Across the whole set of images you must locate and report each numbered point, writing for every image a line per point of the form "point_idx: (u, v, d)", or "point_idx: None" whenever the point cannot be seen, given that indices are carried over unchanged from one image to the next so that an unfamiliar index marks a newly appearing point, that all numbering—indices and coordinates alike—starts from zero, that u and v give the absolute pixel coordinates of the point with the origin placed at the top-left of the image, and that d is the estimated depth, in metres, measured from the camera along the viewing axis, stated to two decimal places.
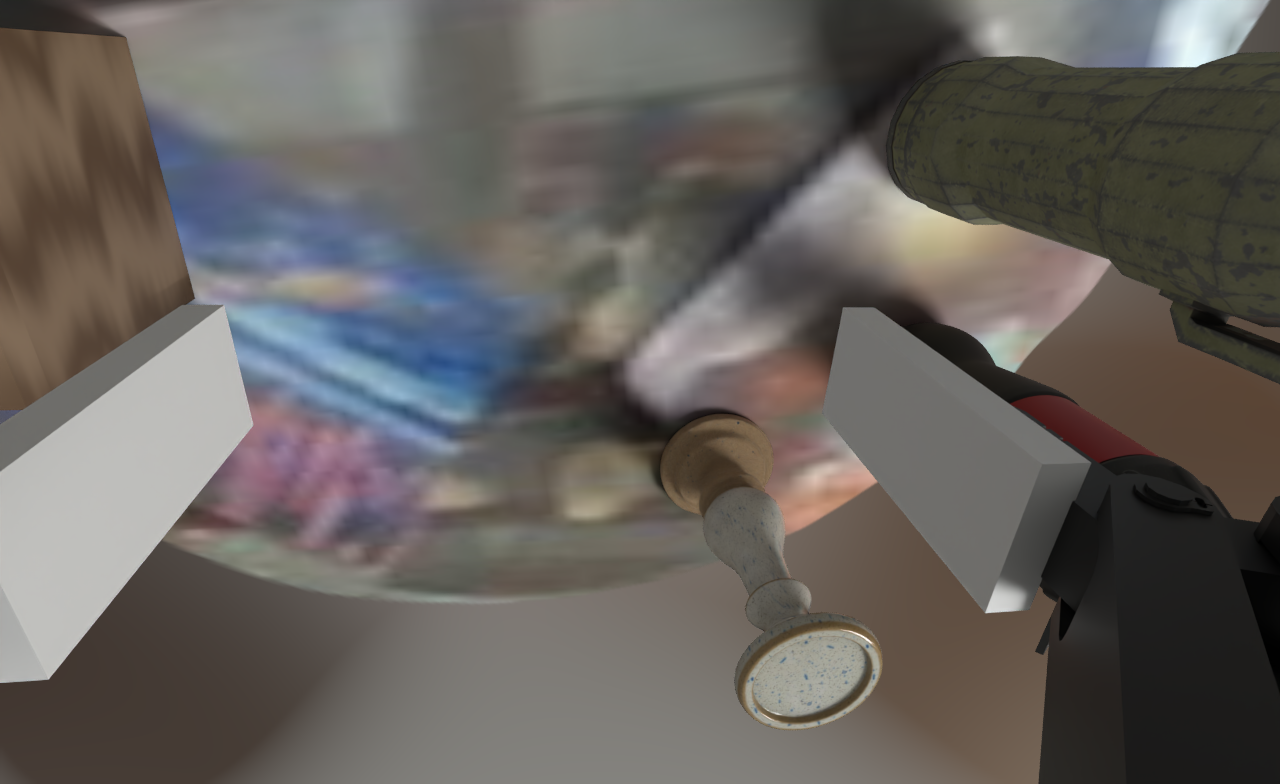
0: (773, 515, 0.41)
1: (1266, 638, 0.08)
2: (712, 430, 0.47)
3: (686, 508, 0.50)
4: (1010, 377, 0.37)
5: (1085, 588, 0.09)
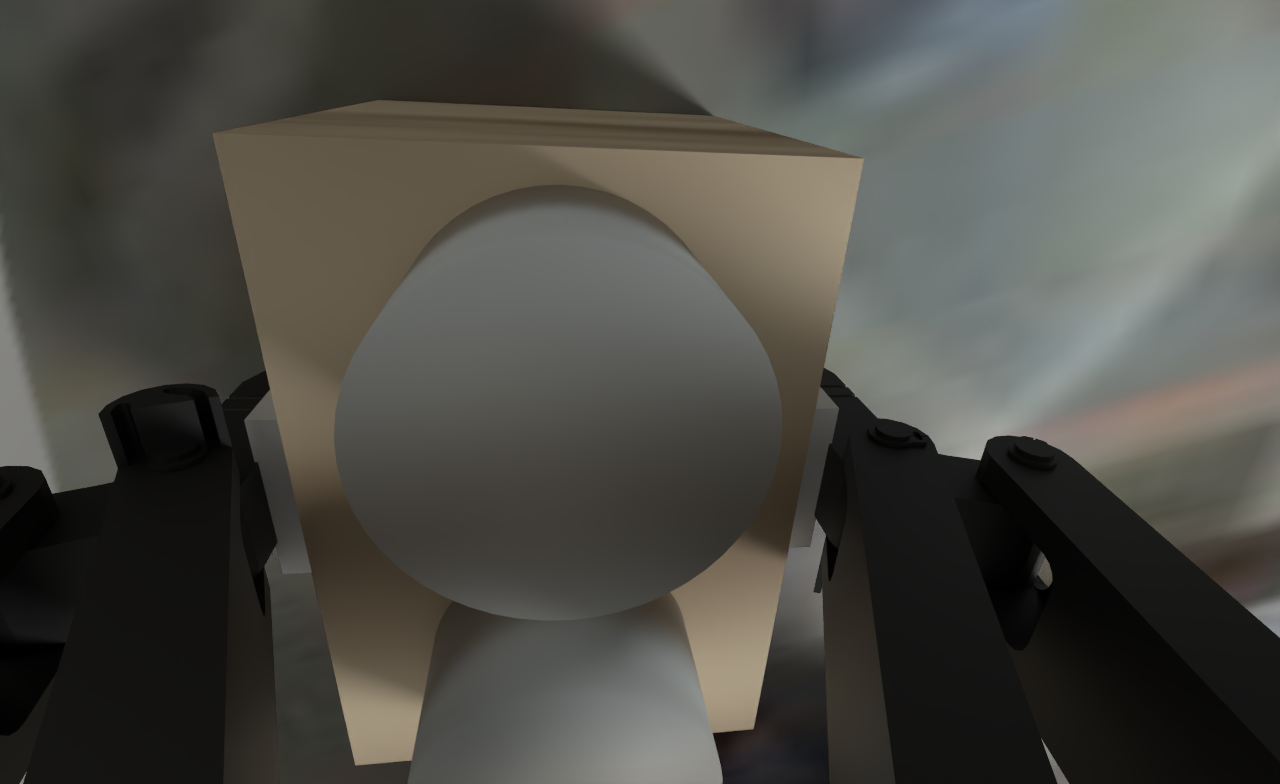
0: None
1: (978, 559, 0.09)
2: None
3: None
4: None
5: (843, 528, 0.10)
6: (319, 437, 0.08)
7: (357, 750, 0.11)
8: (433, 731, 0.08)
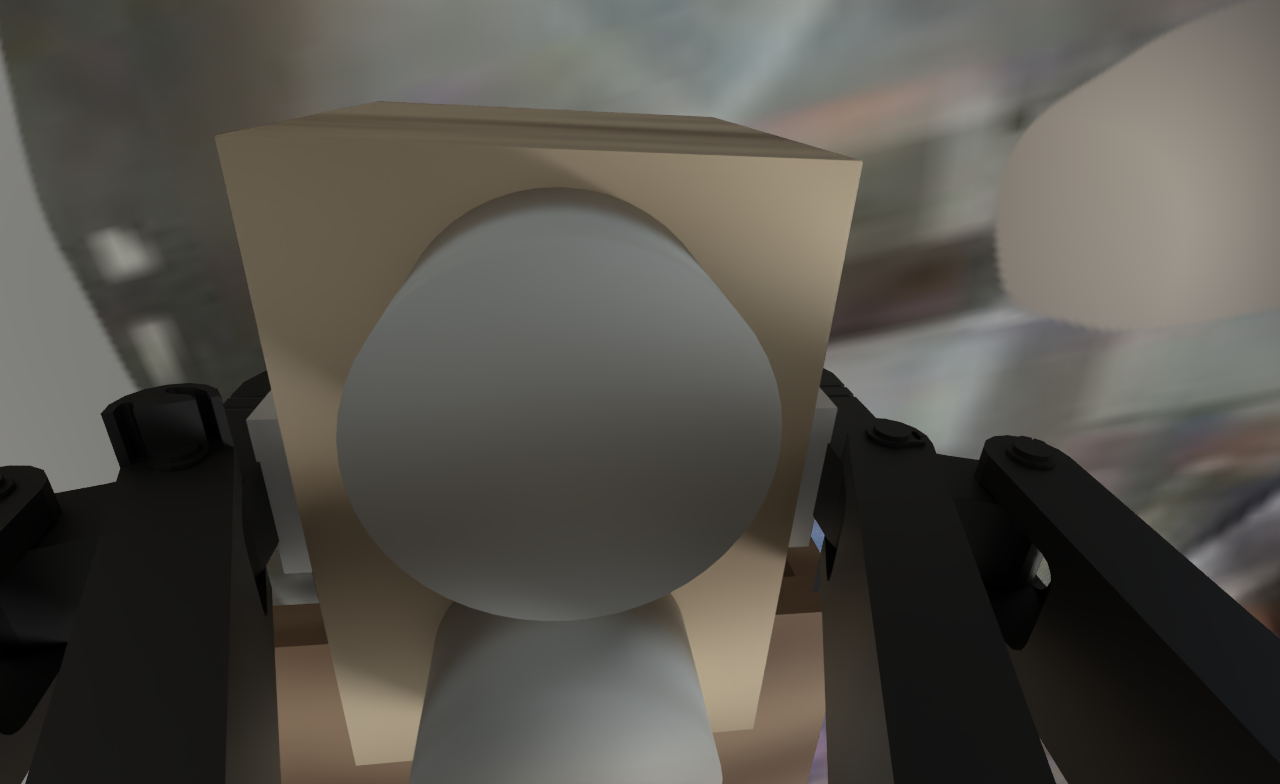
0: None
1: (976, 559, 0.09)
2: None
3: None
4: None
5: (841, 528, 0.10)
6: (320, 438, 0.08)
7: (358, 750, 0.11)
8: (434, 730, 0.08)
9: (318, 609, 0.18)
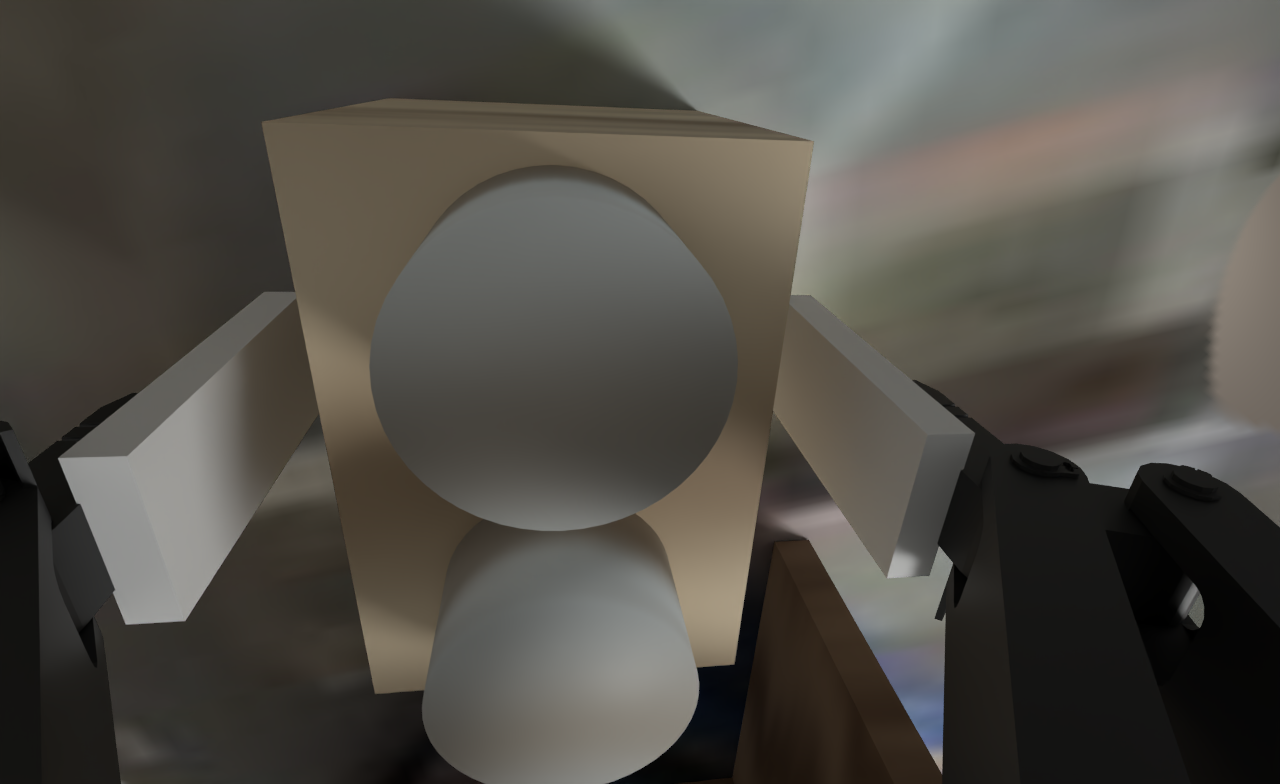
0: None
1: (1130, 595, 0.09)
2: None
3: None
4: None
5: (974, 555, 0.09)
6: (347, 387, 0.09)
7: (377, 679, 0.12)
8: (448, 636, 0.09)
9: None
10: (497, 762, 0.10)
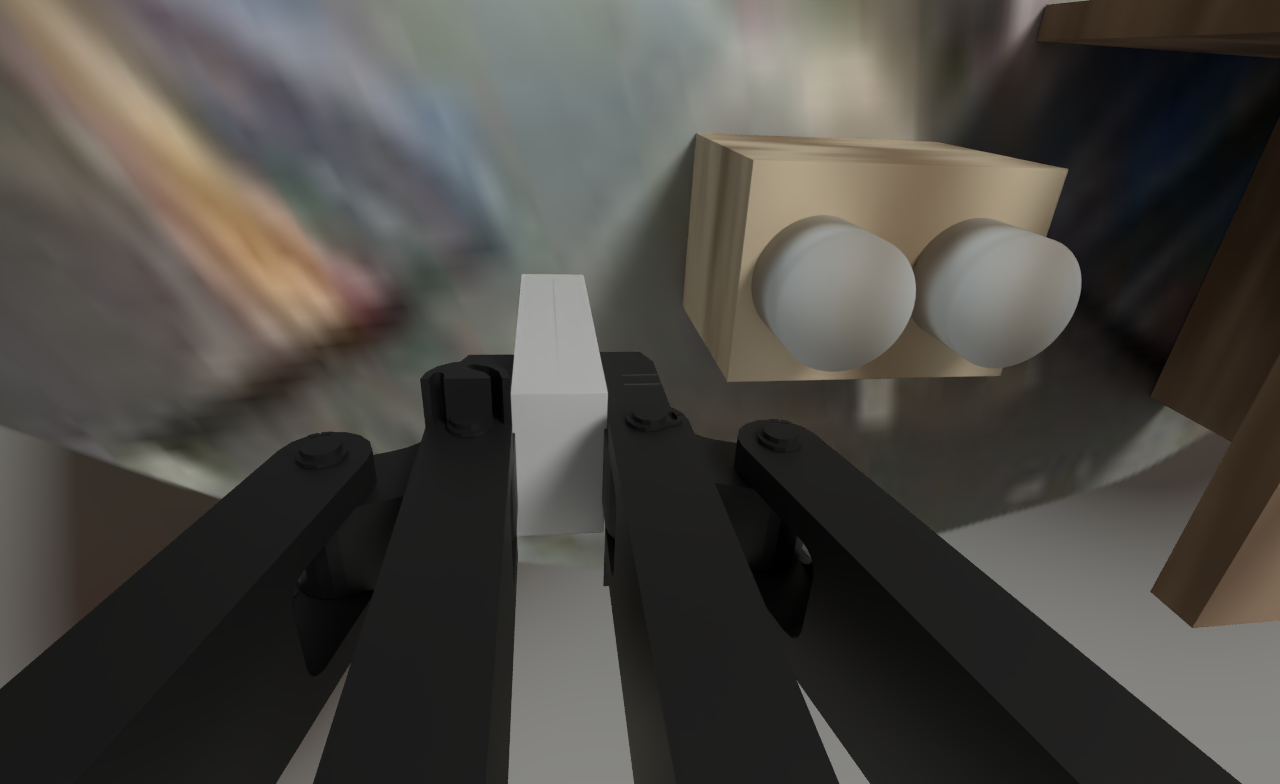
0: None
1: None
2: None
3: None
4: None
5: None
6: None
7: (991, 373, 0.23)
8: (956, 352, 0.20)
9: (1182, 550, 0.20)
10: (1038, 338, 0.19)
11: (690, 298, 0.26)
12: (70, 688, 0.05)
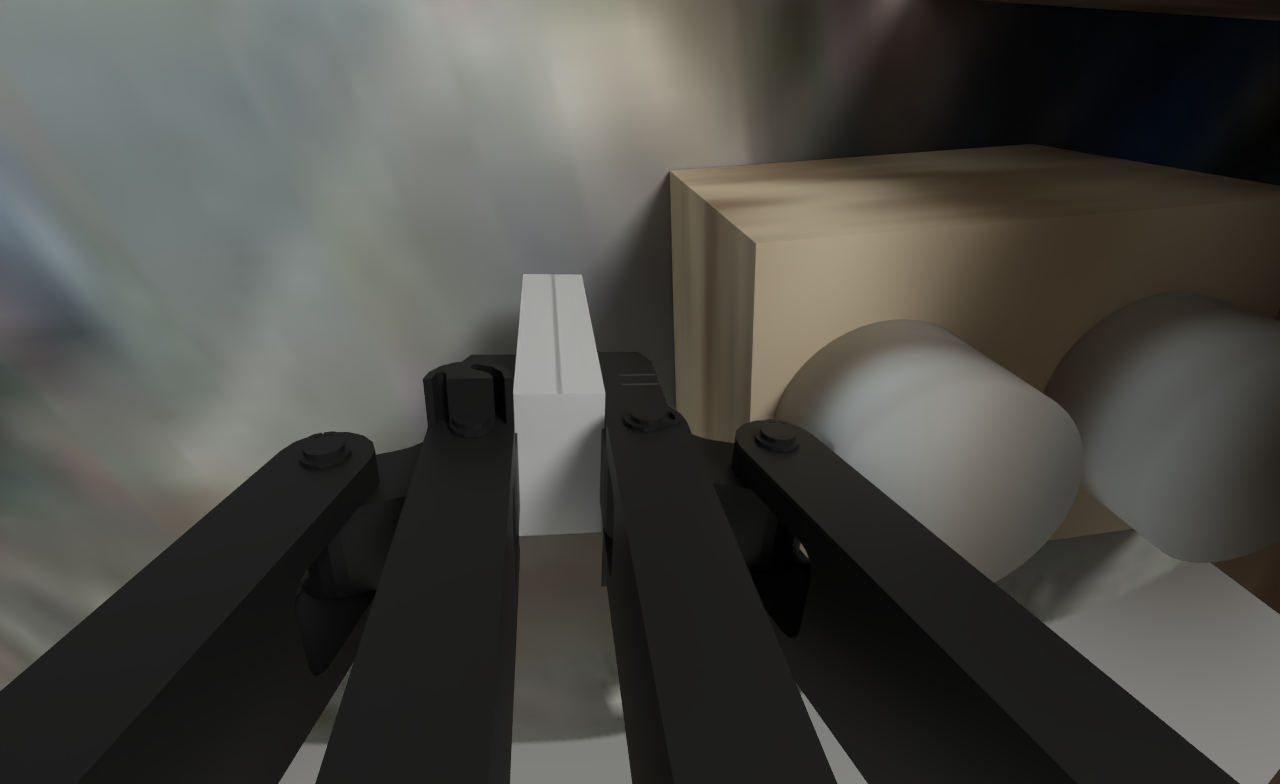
0: None
1: None
2: None
3: None
4: None
5: None
6: None
7: None
8: None
9: None
10: None
11: (684, 407, 0.18)
12: (73, 688, 0.05)
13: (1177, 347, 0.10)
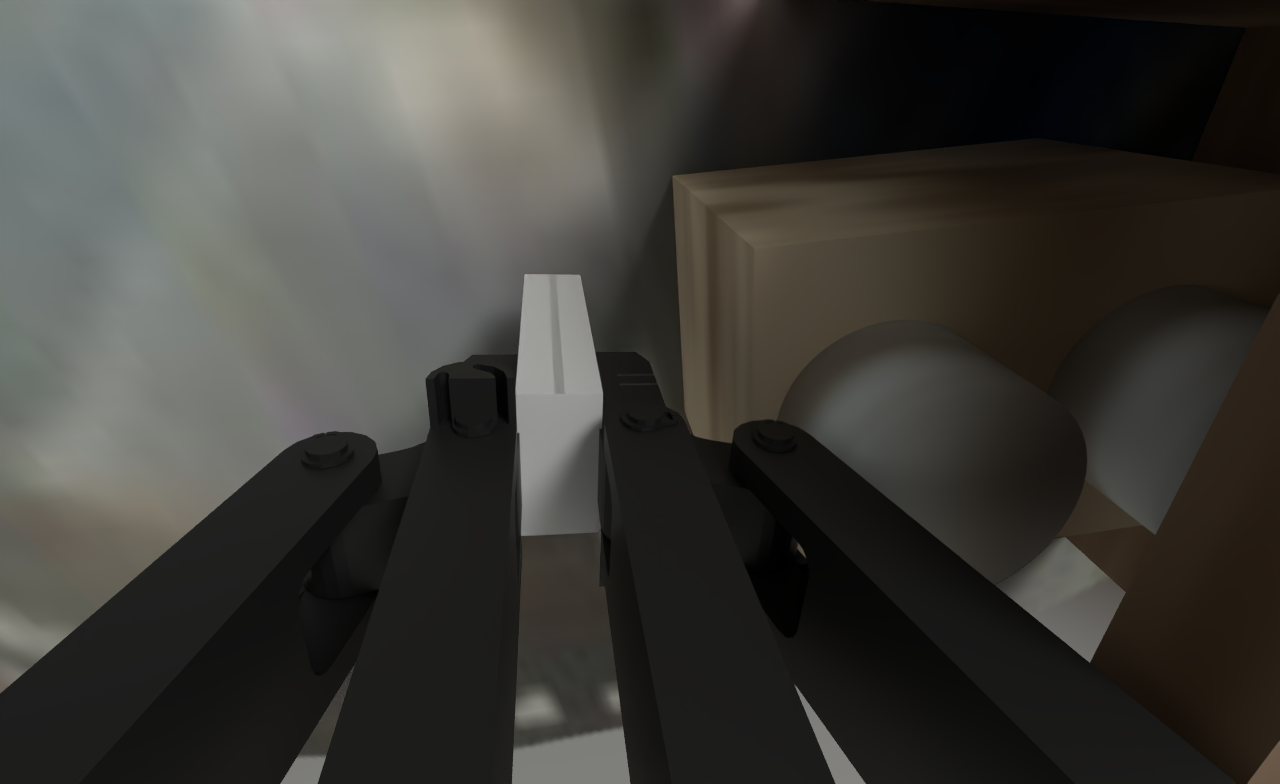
0: None
1: None
2: None
3: None
4: None
5: None
6: None
7: None
8: None
9: None
10: None
11: (692, 409, 0.18)
12: (76, 687, 0.05)
13: (1182, 342, 0.10)
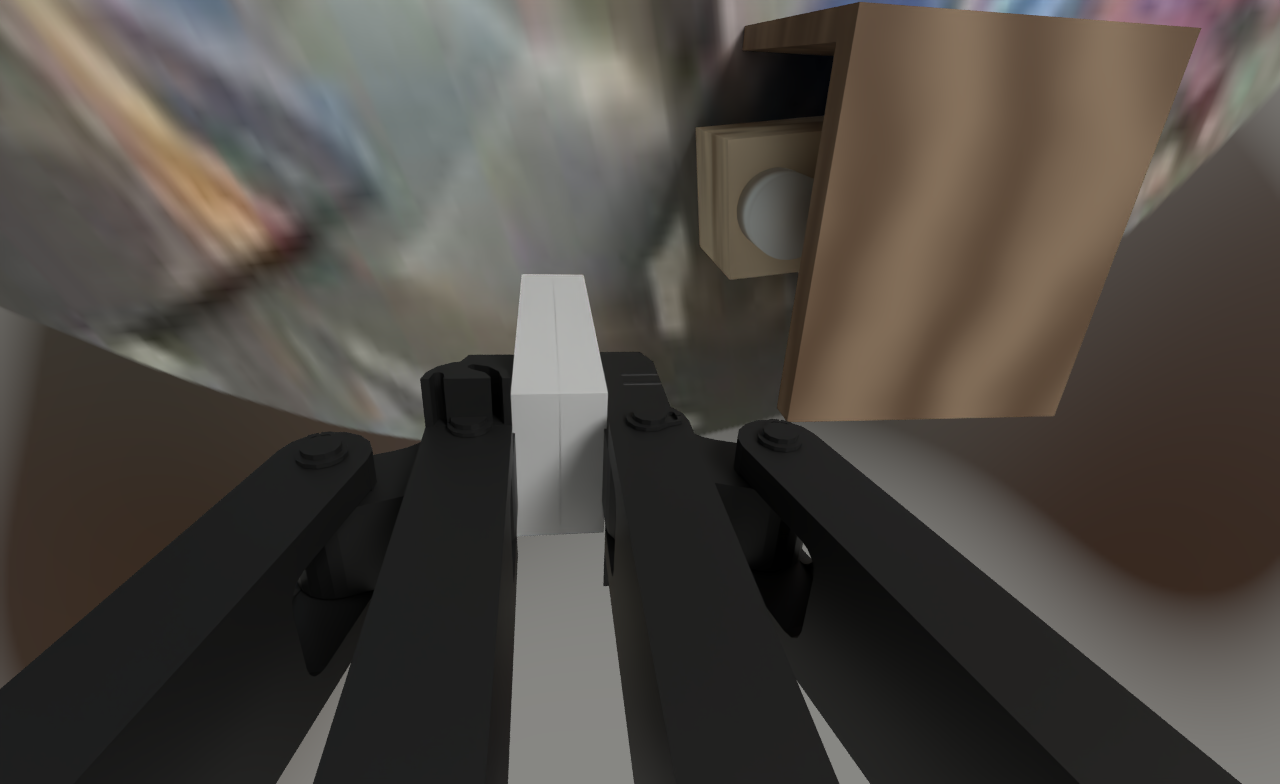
0: None
1: None
2: None
3: None
4: None
5: None
6: (794, 264, 0.34)
7: None
8: None
9: (784, 374, 0.31)
10: None
11: (703, 237, 0.39)
12: (70, 688, 0.05)
13: None
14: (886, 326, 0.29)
